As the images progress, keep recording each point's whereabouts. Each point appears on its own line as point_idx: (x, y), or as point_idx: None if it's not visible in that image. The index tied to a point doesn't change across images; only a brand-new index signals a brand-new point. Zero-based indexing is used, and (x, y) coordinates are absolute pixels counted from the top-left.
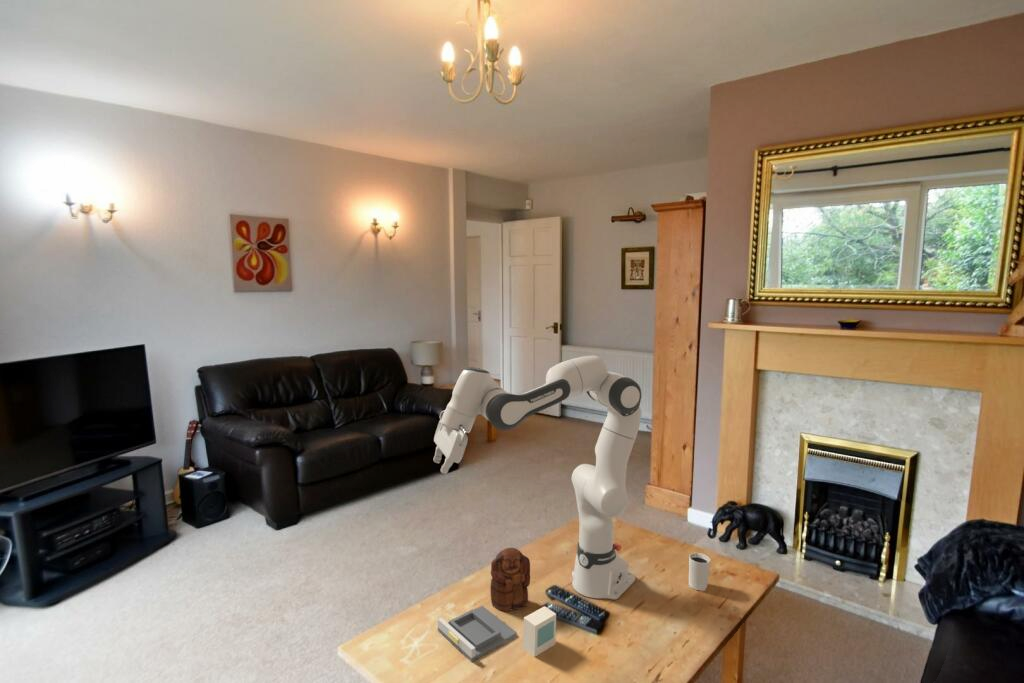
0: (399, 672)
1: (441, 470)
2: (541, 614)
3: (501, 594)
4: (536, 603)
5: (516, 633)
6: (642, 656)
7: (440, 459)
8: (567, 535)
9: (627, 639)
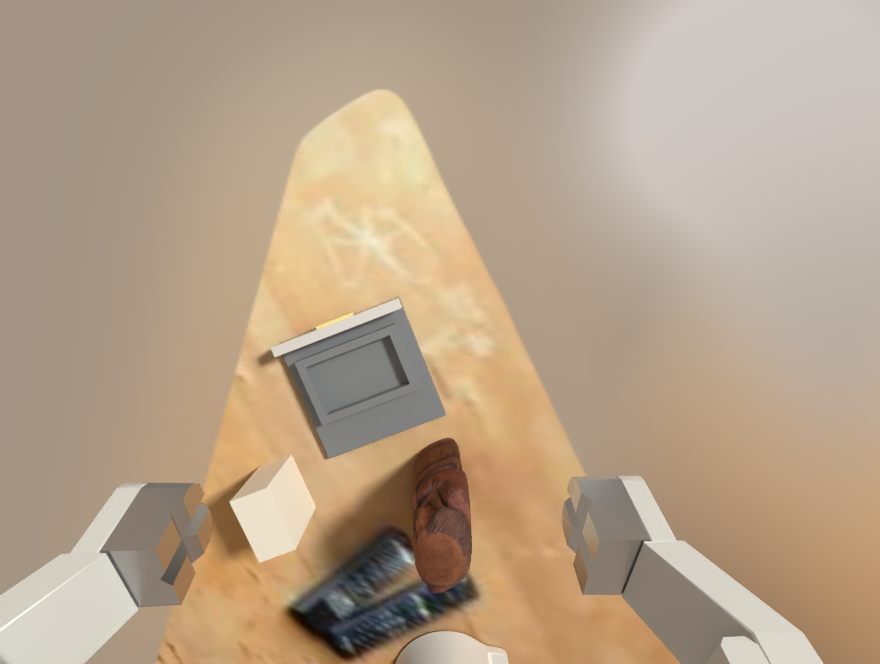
0: (291, 191)
1: (112, 498)
2: (266, 530)
3: (422, 468)
4: None
5: (329, 456)
6: (207, 654)
7: (575, 568)
8: None
9: (258, 652)
